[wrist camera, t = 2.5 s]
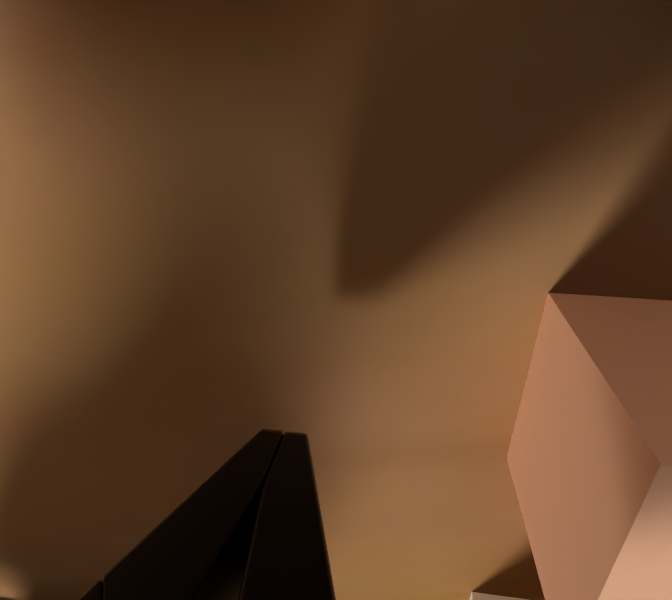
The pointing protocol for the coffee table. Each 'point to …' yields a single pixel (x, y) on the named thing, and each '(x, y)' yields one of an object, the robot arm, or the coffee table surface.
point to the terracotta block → (598, 449)
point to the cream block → (490, 597)
